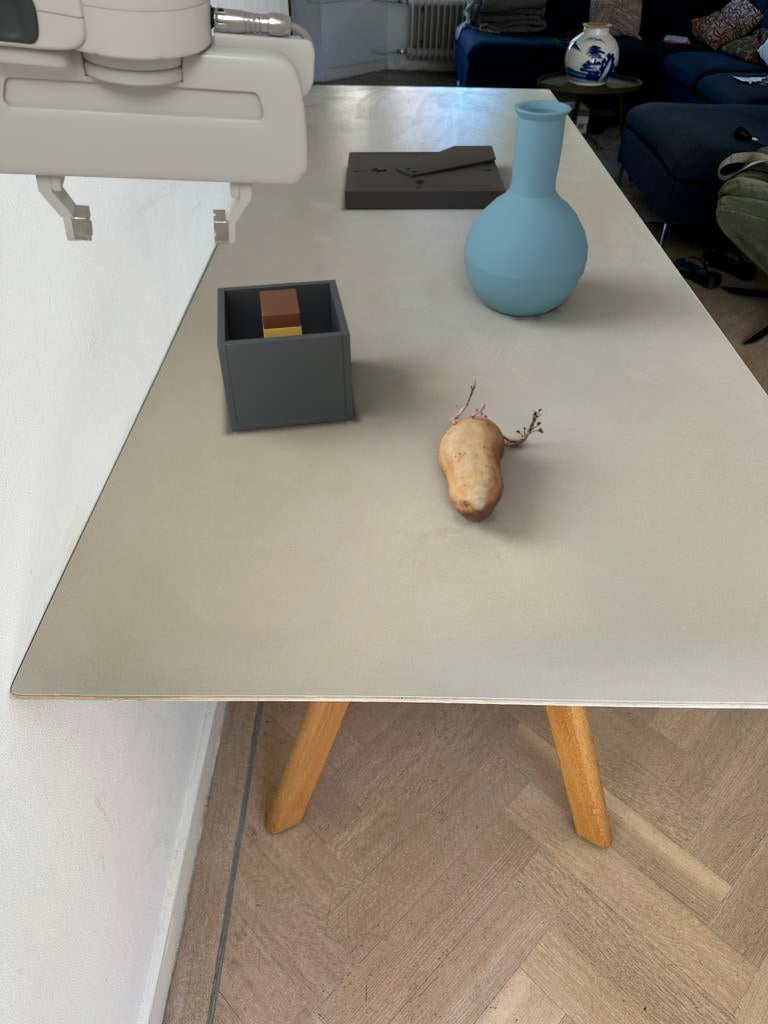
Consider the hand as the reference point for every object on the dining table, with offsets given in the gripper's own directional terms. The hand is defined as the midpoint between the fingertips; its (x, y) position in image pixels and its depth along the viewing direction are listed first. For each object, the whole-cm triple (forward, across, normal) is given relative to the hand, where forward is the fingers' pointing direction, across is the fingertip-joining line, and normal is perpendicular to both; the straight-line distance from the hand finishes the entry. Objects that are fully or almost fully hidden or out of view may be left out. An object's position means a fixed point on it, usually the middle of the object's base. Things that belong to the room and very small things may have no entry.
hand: (154, 238), depth 52 cm
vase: (+29, -46, -40) cm, 67 cm away
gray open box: (+30, -12, -22) cm, 39 cm away
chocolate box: (+29, -12, -22) cm, 38 cm away
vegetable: (+26, -30, 0) cm, 40 cm away
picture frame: (+34, -44, -90) cm, 105 cm away
